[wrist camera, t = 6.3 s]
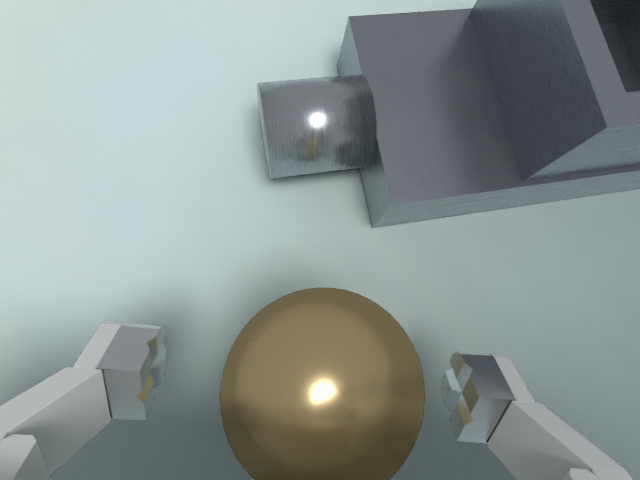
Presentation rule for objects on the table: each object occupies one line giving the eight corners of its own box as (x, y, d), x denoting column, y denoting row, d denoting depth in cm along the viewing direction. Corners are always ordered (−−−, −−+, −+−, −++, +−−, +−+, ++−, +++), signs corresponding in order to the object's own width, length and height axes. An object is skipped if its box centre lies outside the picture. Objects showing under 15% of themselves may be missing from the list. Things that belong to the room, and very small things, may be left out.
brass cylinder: (339, 305, 16) (399, 273, 9) (359, 409, 15) (446, 477, 8) (239, 323, 16) (208, 305, 8) (254, 433, 15) (235, 531, 7)
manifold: (723, 33, 22) (918, -99, 16) (785, 166, 21) (1036, 81, 14) (251, 72, 18) (239, -83, 12) (278, 241, 17) (283, 173, 10)
